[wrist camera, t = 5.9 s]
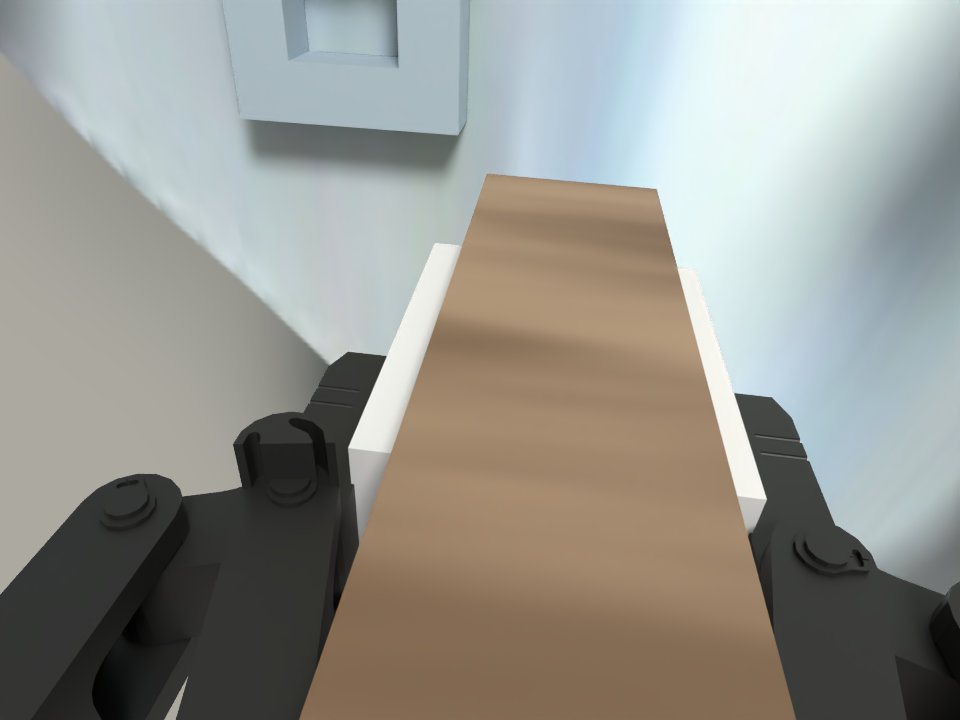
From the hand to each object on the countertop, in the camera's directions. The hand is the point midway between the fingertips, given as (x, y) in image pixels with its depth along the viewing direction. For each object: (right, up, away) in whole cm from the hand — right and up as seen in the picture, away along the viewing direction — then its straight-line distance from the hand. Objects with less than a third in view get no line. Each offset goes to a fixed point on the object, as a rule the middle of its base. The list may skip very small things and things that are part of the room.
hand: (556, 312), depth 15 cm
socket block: (-8, +18, +20) cm, 28 cm away
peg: (0, +1, +2) cm, 3 cm away
